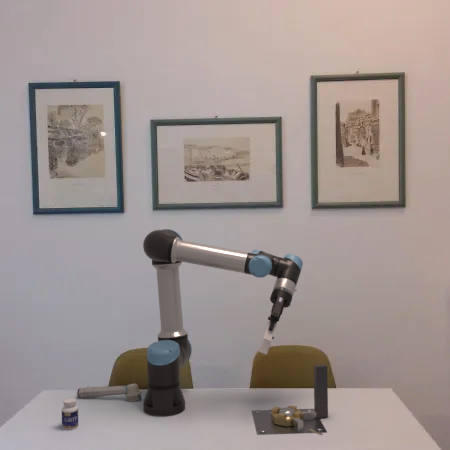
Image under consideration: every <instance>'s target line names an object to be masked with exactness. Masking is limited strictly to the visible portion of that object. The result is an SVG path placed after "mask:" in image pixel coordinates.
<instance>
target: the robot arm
mask: <svg viewBox="0 0 450 450" xmlns="http://www.w3.org/2000/svg"><path fill="white" fill-rule="evenodd" d="M142 248H143V252H144V254H145V255H146V257H148V259H151V265H152V267H153V268H155V269H156V280H157V283H156V284H157V292H158V305H159V306H158V307H159V320H160V321H159V322H160V331H159V333H158V334H157V341H154V342H152V343H150V344H149V345H148V347H147V351H146V352H147V353H146V359H147V361H146V362H147V363H146V364H147V391H146V393H145V396H144V397H145V398H144V401H143V403H142V404H143V408H142V409H143V412H144V413H145V414H147V415H150V416H155V417H168V416H174V415H177V414H180V413H182V412H183V411H184V410H186V399H185V396H184V393H183V390H182V387H181V370H182V368H183V367H184V366H185V365H186V364H187V363H188V361H190V358H191V357H192V352H193V351H192V349H193V348H192V344H191V342H190V340H189V336H188V335H189V333H188V331H187V330H186V329H184V323H183V322H184V321H183V308H182V296H181V295H182V294H181V283H180V271H179V267H180V266H181V265H182V263H187V264H193V265H198V266H204V267H209V268H214V269H219V270H225V271H229V272H236V273H241V274H246V275H250V276H253V277H255V278H260V279H261V278H265V277H267V276H268V275H269V276H272V277H274V278H276V280H275V281H274V282H275V283H274V285H273V289H272V292H271V294H270V298H269V299H270V302H271V303H272V307H271V310H270V315H269V316H268V317H267V320H268V323H267V326H266V329H265V331H264V335H263V337H262V343H261V346H260V350H259V353H260V354H263V355H265V356H267V355H268V352H269V349H270V346H271V342H272V341H273V340H274V339H275V336H274V333H275V330H276V328H277V323H278V322H279V321H280V318H281V316H282V314H283V311H284V309H285V308H289V307H290V306H291V303H292V301H293V296H294V293H295V292H297V288H296V287H297V284H298V281H299V279H300V275H301V273H302V268H303V265H304V264H303V260H302V258H301V257H300V256H299V255H296V254H294V253H292V254H291V253H288V254H286V255H284V257H280V256H277V255H273V254H271V253H268V252H266V251H263V250H258V249H253V250H252V252H247V251H241V250H235V249H230V248H225V247H219V246H215V245H208V244H202V243H197V242H194V241H187V240H183V238H182V236H181V235H180V233H178V232H177V231H175V230H173V229H170V228H169V229H167V228H164V229H156V230H152V231H151V232H149V233H148V234H147V235H145V238H144V239H143V243H142Z"/></svg>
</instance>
